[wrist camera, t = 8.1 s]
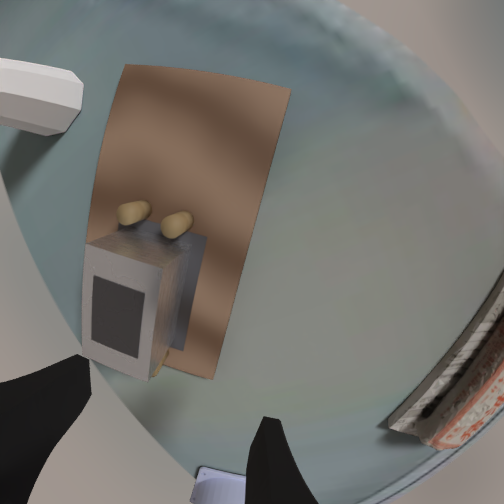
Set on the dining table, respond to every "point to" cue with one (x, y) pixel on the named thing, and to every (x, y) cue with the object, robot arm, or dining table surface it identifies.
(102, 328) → the block
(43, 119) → the salt shaker
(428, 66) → the dining table surface
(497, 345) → the packaged product
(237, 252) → the walnut tray
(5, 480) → the robot arm
